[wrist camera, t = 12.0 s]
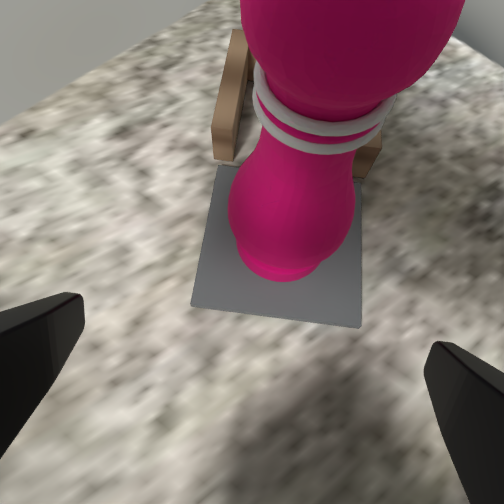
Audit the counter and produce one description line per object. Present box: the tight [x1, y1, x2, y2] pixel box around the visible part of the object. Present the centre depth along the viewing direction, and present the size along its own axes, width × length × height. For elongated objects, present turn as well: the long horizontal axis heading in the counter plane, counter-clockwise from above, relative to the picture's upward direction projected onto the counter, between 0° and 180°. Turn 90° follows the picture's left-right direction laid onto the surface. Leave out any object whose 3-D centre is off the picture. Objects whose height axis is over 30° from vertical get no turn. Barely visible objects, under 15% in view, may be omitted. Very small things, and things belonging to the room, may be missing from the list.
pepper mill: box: [228, 0, 465, 282], centre depth 15 cm, size 7×7×20 cm
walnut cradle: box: [211, 29, 382, 178], centre depth 28 cm, size 10×12×4 cm
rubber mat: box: [190, 165, 361, 329], centre depth 25 cm, size 11×11×1 cm
